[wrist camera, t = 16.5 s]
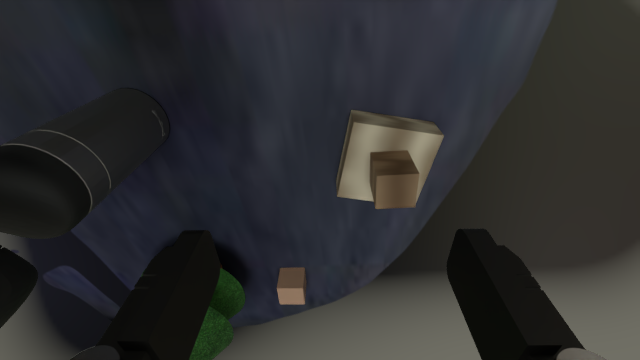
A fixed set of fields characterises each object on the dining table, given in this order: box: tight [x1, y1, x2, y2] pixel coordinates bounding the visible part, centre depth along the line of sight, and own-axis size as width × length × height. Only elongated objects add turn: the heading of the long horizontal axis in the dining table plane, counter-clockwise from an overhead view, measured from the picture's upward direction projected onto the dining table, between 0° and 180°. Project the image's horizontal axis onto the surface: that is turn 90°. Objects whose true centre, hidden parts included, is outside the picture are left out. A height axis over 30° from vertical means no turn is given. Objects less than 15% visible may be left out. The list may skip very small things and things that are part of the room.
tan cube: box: [277, 268, 306, 304], centre depth 59 cm, size 5×5×5 cm
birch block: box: [336, 110, 444, 202], centre depth 43 cm, size 12×12×5 cm
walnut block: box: [370, 150, 419, 209], centre depth 38 cm, size 5×5×6 cm
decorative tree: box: [141, 263, 245, 360], centre depth 48 cm, size 19×19×30 cm
